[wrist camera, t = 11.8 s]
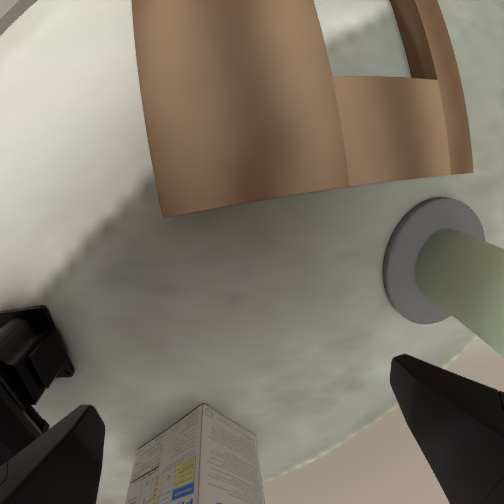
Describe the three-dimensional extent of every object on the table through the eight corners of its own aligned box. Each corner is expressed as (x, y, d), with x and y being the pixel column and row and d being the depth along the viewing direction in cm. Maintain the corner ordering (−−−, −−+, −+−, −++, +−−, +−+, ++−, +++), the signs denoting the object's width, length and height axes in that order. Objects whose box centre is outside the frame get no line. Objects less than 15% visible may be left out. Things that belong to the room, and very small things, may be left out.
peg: (403, 286, 21) (526, 391, 8) (433, 217, 20) (583, 277, 7) (449, 304, 22) (557, 392, 9) (476, 243, 21) (601, 304, 8)
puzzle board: (172, 210, 19) (163, 218, 16) (140, -9, 15) (130, -30, 12) (448, 169, 20) (473, 172, 17) (405, -18, 15) (423, -33, 12)
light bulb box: (187, 476, 27) (183, 560, 16) (134, 448, 25) (115, 536, 15) (259, 434, 25) (274, 534, 15) (202, 399, 24) (196, 511, 13)
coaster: (382, 332, 23) (387, 338, 22) (379, 206, 20) (386, 208, 19) (473, 301, 23) (479, 306, 22) (478, 191, 20) (486, 193, 20)
